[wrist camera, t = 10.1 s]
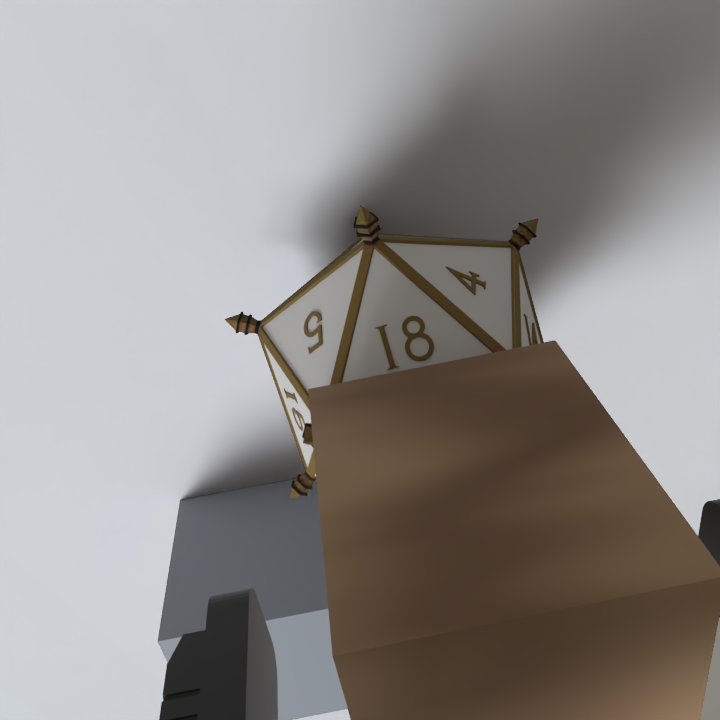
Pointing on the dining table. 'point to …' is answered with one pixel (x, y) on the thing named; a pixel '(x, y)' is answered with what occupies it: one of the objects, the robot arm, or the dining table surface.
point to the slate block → (259, 583)
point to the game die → (393, 315)
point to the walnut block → (504, 550)
